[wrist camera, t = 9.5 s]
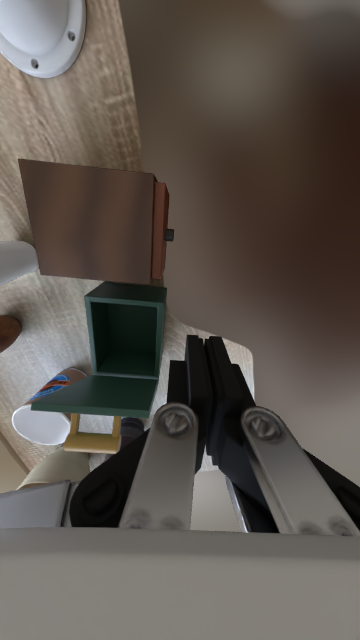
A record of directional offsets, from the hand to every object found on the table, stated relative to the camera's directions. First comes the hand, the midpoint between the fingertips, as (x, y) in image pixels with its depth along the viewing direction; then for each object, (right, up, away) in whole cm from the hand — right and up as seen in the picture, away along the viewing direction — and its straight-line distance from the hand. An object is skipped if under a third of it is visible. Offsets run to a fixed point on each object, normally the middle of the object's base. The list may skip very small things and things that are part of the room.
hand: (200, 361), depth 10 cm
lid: (-10, -7, +18) cm, 22 cm away
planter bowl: (-32, -37, +48) cm, 69 cm away
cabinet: (-11, +17, +23) cm, 31 cm away
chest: (-10, +2, +30) cm, 32 cm away
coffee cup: (-25, -12, +37) cm, 46 cm away
